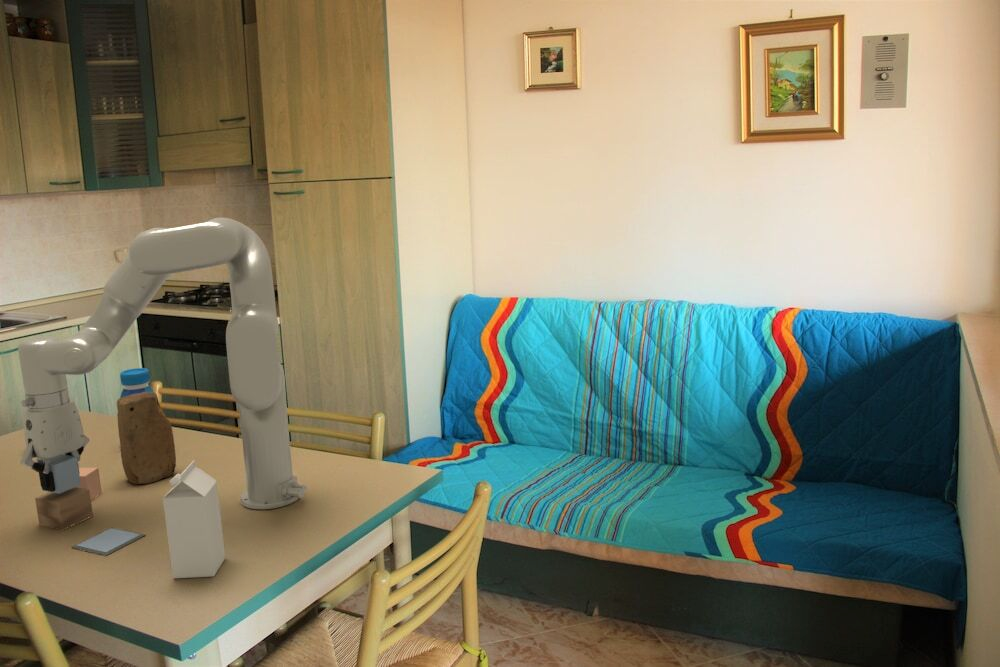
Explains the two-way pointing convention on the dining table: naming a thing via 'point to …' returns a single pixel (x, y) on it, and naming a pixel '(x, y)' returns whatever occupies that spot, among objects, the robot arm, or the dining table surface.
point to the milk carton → (194, 524)
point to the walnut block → (64, 508)
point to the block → (145, 438)
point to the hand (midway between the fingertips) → (61, 484)
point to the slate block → (64, 473)
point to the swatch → (108, 541)
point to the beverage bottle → (135, 381)
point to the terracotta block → (90, 481)
